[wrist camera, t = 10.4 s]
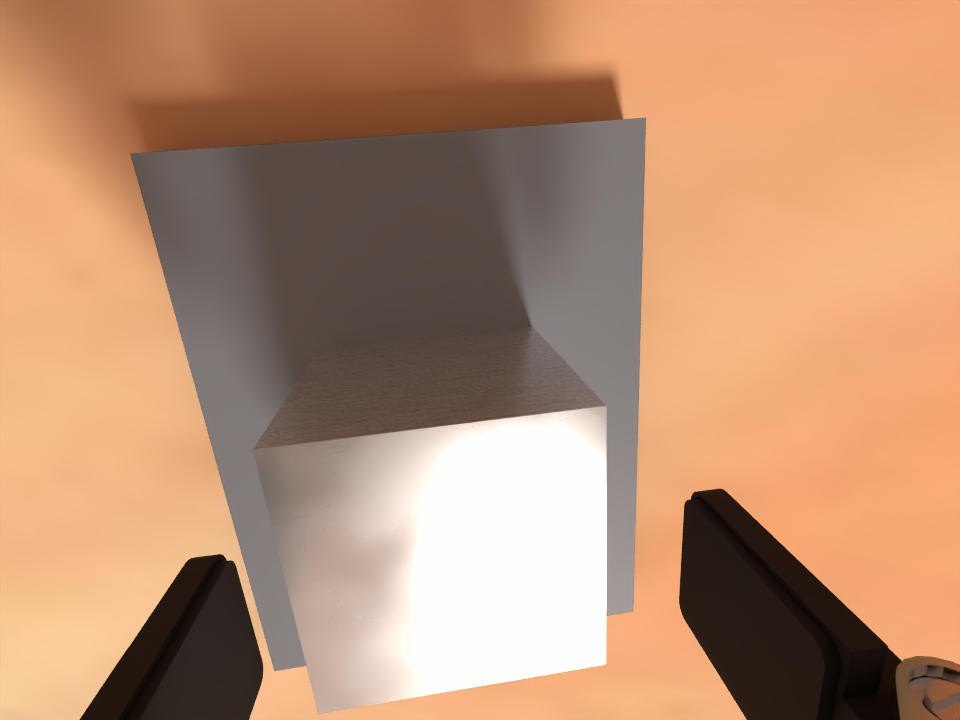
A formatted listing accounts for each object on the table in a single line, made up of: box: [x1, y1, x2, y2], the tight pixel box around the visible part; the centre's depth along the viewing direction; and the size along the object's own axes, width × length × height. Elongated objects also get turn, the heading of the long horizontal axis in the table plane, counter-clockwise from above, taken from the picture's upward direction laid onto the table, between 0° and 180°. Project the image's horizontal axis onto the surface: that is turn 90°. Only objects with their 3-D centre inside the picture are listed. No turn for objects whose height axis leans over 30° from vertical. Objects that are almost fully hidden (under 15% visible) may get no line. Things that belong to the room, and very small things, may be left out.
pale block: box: [253, 325, 607, 714], centre depth 13 cm, size 7×7×6 cm
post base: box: [131, 118, 646, 671], centre depth 15 cm, size 14×18×6 cm
